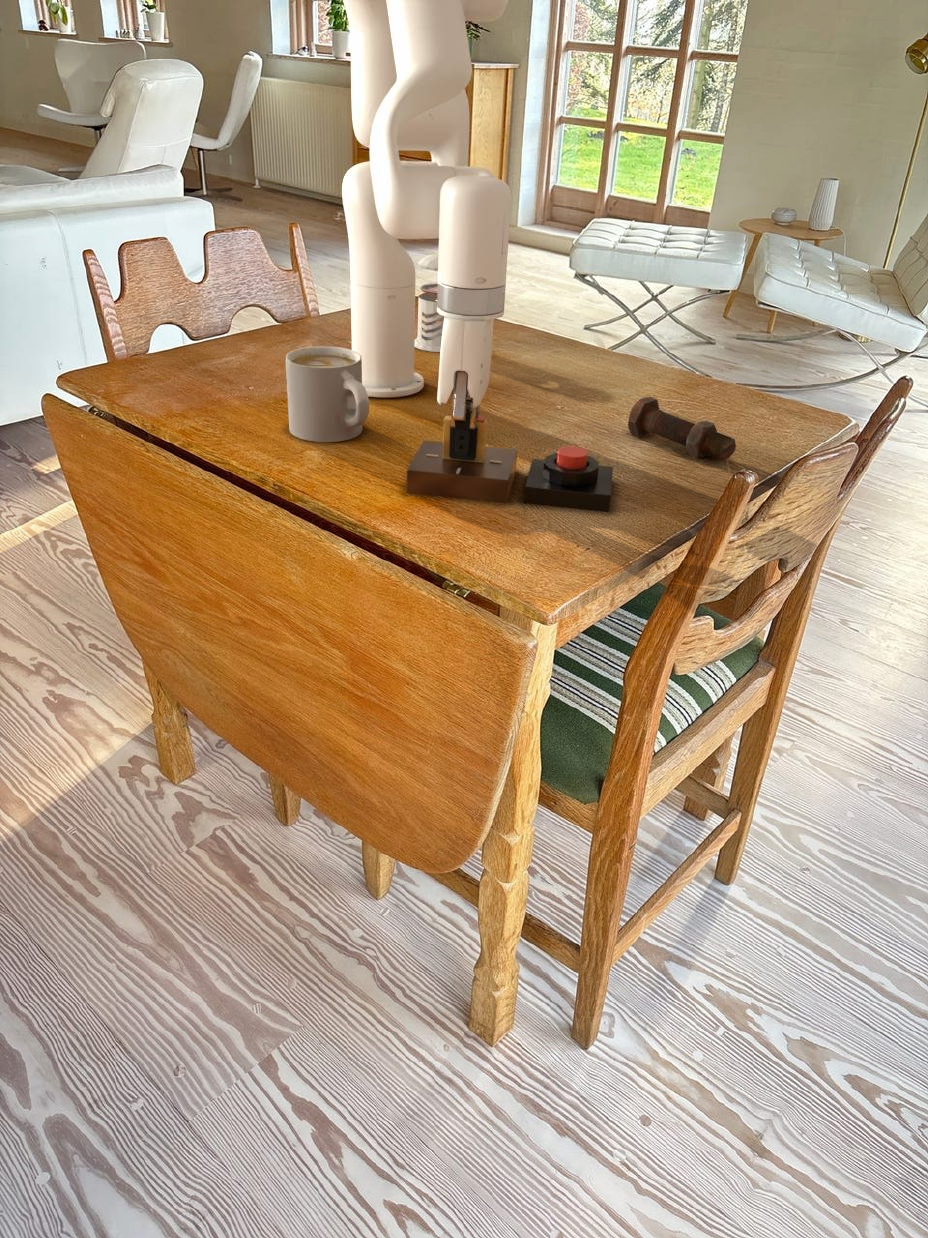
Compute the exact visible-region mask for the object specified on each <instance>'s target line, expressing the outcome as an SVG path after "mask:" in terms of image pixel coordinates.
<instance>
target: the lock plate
mask: <svg viewBox="0 0 928 1238" xmlns="http://www.w3.org/2000/svg"><path fill="white" fill-rule="evenodd" d="M517 460H518V449H514V448H503V447H493V446H486V450H485V460H484V463H479V462H469V461H459V460H449V459H443V441H442V442H441V441H434V440H423V441H422V442H421V444H420V446H419V448H418V449H417V451H416V453H415V455H414V457H413V458H412V460H411V462H410V464H409V466H408V468H407V469H406V493H407V494H414V495H421V496H422V495H423V496H430V497H431V496H433V497H442V498H453V499H459V500H460V499H463V500H471V501H478V502H479V501H480V502H488V503H489V502H490V503H499V504H507V503H508V499H509V496H510V493H511V490H512V486H513V482H514V479H515V475H516V473H517Z"/></svg>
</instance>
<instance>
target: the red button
mask: <svg viewBox="0 0 928 1238" xmlns="http://www.w3.org/2000/svg"><path fill="white" fill-rule="evenodd" d="M556 453H557V463H556V464H557V465H558V466H560V467H563V468H566V469H584V468H586V466H587V458H588V456H589V452H588V450H587V449H585V448H582V447H580V446H575V445H565V446H562V447H559V448H558V449H557V452H556Z"/></svg>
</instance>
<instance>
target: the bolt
mask: <svg viewBox="0 0 928 1238" xmlns="http://www.w3.org/2000/svg"><path fill="white" fill-rule="evenodd" d="M629 412H630V413H629V414H628V419H627V420H628V421H627V428H628V430H629V433H630V434H631V436H633V437H635V438H637V439H639V438H643V437H645V436H649V435H656V436H658V437H660V438H664V439H667V440H668V441H671V442H675V443H677V444H679V445H682V446H684V447H685V448H686V451H687V454H688V455H689V456H691V457H693V458H696V459H699V458H704V457H706V456H709V457H712V458H714V459H717V460H719V461H722V462H723V461H726V460H729V459H730V458H731V457H732V455H733V454H734V453H735V451H736V448H737V444H736V439H735V438H733V437H732V436H729V435H726V434H724V433H720V432H718V430H717V427H716V425H715V423H714V422H711V421H708V420H702V421H698V422H697V423H695V422H692V421H689V420H686V419H684V418H680V417H678V416H675V415H673V414H670V413H667V412H664V410H661V409H660V405H659V401H658V399H657V398H655V397H652V396H646V397H642V398H639V399H638V400H637V401H636V403H634V405H633V406H632V407H631V409H630V411H629Z"/></svg>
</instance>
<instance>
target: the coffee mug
mask: <svg viewBox="0 0 928 1238" xmlns="http://www.w3.org/2000/svg"><path fill="white" fill-rule="evenodd" d="M285 371H286V373H285V374H286V375H285V376H286V377H285V378H286V392H287V393H286V394H287V410H288V411H287V412H288V429H289V433H290V434H291V435H292V436H293V437H295V438H297V439H301V440H304V441H308V442H314V443H337V442H344V441H349V440H351V439H354V438H356V437H358V436H359V435H361V434H362V432H363V424H365V422H366V421H367V420H368V417H369V413H370V400H369V396H368V394H367V391H366V389H365V387H364V386H363V385H362V358H361V355H360V354H359V353H357V352H355V351H353V350H352V349H351V348H346V347H339V346H328V345H318V346H306V347H301V348H296V349H294V350H291V351H289V352H287V353H286V354H285Z"/></svg>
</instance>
